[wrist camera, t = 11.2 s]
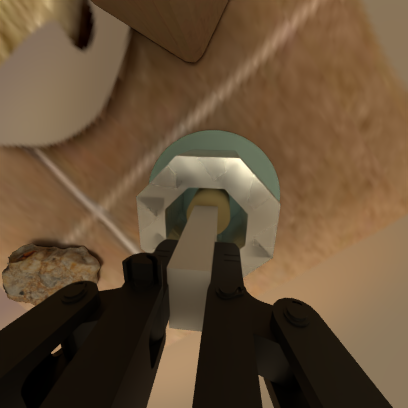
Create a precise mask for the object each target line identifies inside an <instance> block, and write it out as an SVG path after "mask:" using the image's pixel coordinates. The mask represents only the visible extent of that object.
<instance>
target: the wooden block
mask: <svg viewBox="0 0 408 408" xmlns="http://www.w3.org/2000/svg"><path fill="white" fill-rule="evenodd" d="M91 1H92V2H93V3H94V4H95V5H97V6H98V7H100V8H101V9H103V10H105V11H106V12H108V13H109V14H111V15H113V16H114V17H116V18H117V19H119V20H121V21H122V22H124V23H125V24H127V25H128V26H130V27H132V28H133V29H135V30H136V31H138V32H140V33H141V34H143V35H144V36H146V37H148V38H149V39H151V40H152V41H154V42H156V43H157V44H159V45H160V46H162V47H164V48H165V49H167V50H168V51H170V52H172V53H173V54H175V55H176V56H178V57H179V58H181V59H183V60H184V61H186V62H196V61H197V60H198V59H199V58H200V57H201V56H202V55H203V54H204V51H205V49H206V47H207V45H208V43H209V41H210V39H211V36H212V34H213V32H214V30H215V28H216V26H217V24H218V21H219V19H220V17H221V15H222V13H223V11H224V9H225V6H226V4H227V2H228V0H91Z"/></svg>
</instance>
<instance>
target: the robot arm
mask: <svg viewBox="0 0 408 408" xmlns="http://www.w3.org/2000/svg"><path fill="white" fill-rule="evenodd" d="M217 219H218V206H199V205H195V206H194V208H193V210H192V213H191V215H190V217H189V219H188V221H187V224H186V226H185V228H184V230H183V233H182V235H181V237H180V239H179V240H172V239H165V240H164V241H162V242H161V243H159V244H158V246H157V247H156V249H155V251H154V252H153V253H138V254H134V255H132V256H130V257H127V258H126V259H125V260H124V261H123V262H122V264H123V272H124V280H125V283H124V284H123V286H122V287H121V288H116V289H111V290H104V291H98V287H97V284H96V283H94V282H92V281H86V280H84V281H77V282H74V283H71V284H68V285H66V286H65V287H63V288H61V289H59V290H58V291H56V292H55V293H54V294H52V295H51V296H49V297H48V298H46V299H45V300H44V301H42V302H41V303H39V304H38V305H36V306H35V307H33V308H32V309H31V310H29V311H28V312H26V313H25V314H23V315H22V316H21V317H19V318H18V319H16V320H15V321H13V322H12V323H10V324H9V325H8V326H6V327H5V328H3V329H2V330H0V408H146V407H147V404H148V400H149V397H150V393H151V390H152V387H153V383H154V380H155V376H156V373H157V369H158V366H159V362H160V359H161V355H162V352H163V349H164V345H165V341H166V326H167V323H168V320H169V328H174V329H183V330H192V331H201V332H202V335H201V343H200V350H199V358H198V366H197V374H196V382H195V390H194V397H193V405H192V408H262V400H261V392H260V385H259V377H258V375H260V376H262V377H264V381H265V384H266V387H267V390H268V392H269V395H270V398H271V401H272V403H273V406H274V408H393V407H392V406H391V405H390V404H389V402H388V401H387V400H386V399H385V397H384V396H383V395H382V393H381V392H380V391H379V390H378V388H377V387H376V386H375V385H374V383H373V382H372V381H371V380H370V378H369V377H368V376H367V375H366V373H365V372H364V371H363V370H362V368H361V367H360V366H359V364H358V363H357V362H356V361H355V359H354V358H353V357H352V356H351V354H350V353H349V352H348V351H347V349H346V348H345V347H344V346H343V344H342V343H341V342H340V341H339V339H338V338H337V337H336V336H335V334H334V333H333V332H332V331H331V329H330V328H329V327H328V326H327V324H326V323H325V322H324V320H323V319H322V318H321V317H320V315H319V314H318V313H317V312H316V311H315V310H314V309H313V308H312V307H311V306H309V305H307V304H306V303H304V302H302V301H300V300H297V299H294V298H283V299H279V300H277V301H276V302H275V303H274V304H273V305H270V304H267V303H264V302H262V301H259V300H257V299H256V298H254V297H252V296H251V295H250V294H249V293H248V292H247V290H246V288H245V287H244V283H243V274H242V265H241V257H240V249H239V248H238V246H237V245H236V244H235V243H226V242H217ZM59 344H61V347H62V348H61V349H60V350H58V351H57V352H55V353H54V354H51V352H52V351H53V350H54V349H55V348H56V347H57V346H58V345H59Z"/></svg>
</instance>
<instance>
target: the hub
mask: <svg viewBox="0 0 408 408" xmlns="http://www.w3.org/2000/svg"><path fill="white" fill-rule="evenodd" d="M191 149H199V150H234V151H236V152H237V153H238V154H239V155H240V156H241V158H242V159H243V160H244V161H245V162H246V163H247V164H248V165H249V167H250V168H251V169H252V170H253V171H254V172H255V173H256V175H257V176H258V177H259V178H260V179H261V180H262V181H263V182H264V183H265V185H266V186H267V187H268V188H269V190H270V191H271V192H272V194H273V195H274V196H275V197H276V199H277V200H278V201H280V187H279V181H278V178H277V174H276V171H275V169H274V167H273V165H272V163H271V162H270V160H269V159H268V157H267V156H266V155H265V154H264V153H263V151H262V150H261V149H260V148H259V147H257V146H256V145H255V144H254V143H252V142H251V141H249V140H247V139H246V138H244V137H242V136H239V135H237V134H234V133H231V132H227V131H220V130H206V131H199V132H195V133H192V134H189V135H187V136H184V137H182V138H180V139H179V140H177V141H176V142H174V143H173V144H171V145H170V146H169V147H168V148H167V149H166V150H165V151H164V152H163V153H162V154H161V156H160V157H159V159H158V160H157V162H156V163H155V165H154V168H153V170H152V173H151V176H150V180H149V183H150V182H151V181H152V180H153V179H154V178H155V177H156V176H157V175H158V174H159V173H160V172H161V171H162V170H163V169H164V168H165V167H166V166H167V165H168V164H169V162H170V161H171V160H172V159H173V158H174V157H175V156H177V155H179V154H182V153H184V152H186V151H189V150H191ZM195 205H199V206H218V219H217V234H220V233H221V232H223V231H224V230H225V229H226V228H227V226H228V224H229V222H230V220H231V219H232V218H233V217H234V216H236V215H237V214H238V213H239V212H240V205H239V204H238V203H237V202H236V201H235V200H234V198H233V197H232V196H231V195H230V194H229V193H228V192H227V191H226V190H225V189H216V188H195V187H188V188H187V189H186V190H185V191H184V210H185V211H186V212H187V221H188V219H189V217H190V215H191V213H192V210H193V208H194V206H195Z"/></svg>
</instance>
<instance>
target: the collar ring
mask: <svg viewBox="0 0 408 408" xmlns="http://www.w3.org/2000/svg"><path fill="white" fill-rule="evenodd" d="M188 187H195V188H216V189H225V190H226V191H227V192H228V193H229V194H230V195H231V196H232V197H233V198H234V200H235V201H236V202H237V203H238V204H239V205H240V212H239V213H238V214H237V215H236V216H234V217H233V218H232V219H231V220H230V222H229V224H228V226H227V228H226V229H225V230H224V231H223V232H221V233H220V234H217V242H226V243H235V244H236V245H237V246H238V248H239V249H240V257H241V265H242V274H243V278H244V277H245V276H246V275H248V274H249V273H251V272H252V271H254V270H255V269H257V268H258V267H260V266H261V265H263V264H264V263H266V262H267V261H269V260H270V259H272V258H273V252H274V245H275V238H276V232H277V225H278V218H279V212H280V205H281V204H280V202H279V201H278V200H277V199H276V197H275V196H274V195H273V194H272V192H271V191H270V190H269V188H268V187H267V186H266V185H265V183H264V182H263V181H262V180H261V179H260V178H259V177H258V176H257V175H256V173H255V172H254V171H253V170H252V169H251V168H250V167H249V165H248V164H247V163H246V162H245V161H244V160H243V159H242V158H241V156H240V155H239V154H238V153H237V152H236V151H234V150H199V149H191V150H189V151H186V152H184V153H182V154H179V155H177V156H175V157H174V158H173V159H172V160H171V161H170V162H169V164H168V165H167V166H166V167H165V168H164V169H163V170H162V171H161V172H160V173H159V174H158V175H157V176H156V177H155V178H154V179H153V180H152V181H151V182H150V183H149V184H148V185H147V186H146V187H145V188H144V189H143V190H142V191H141V192H140V193H139V195H138V196H136V200H137V211H138V222H139V233H140V244H141V248H142V249H143V250H144V251H145V252H146V253H153V252H154V251H155V249H156V247H157V246H158V244H159V243H161V242H162V241H164V240H165V239H172V240H179V239H180V237H181V235H182V233H183V230H184V228H185V226H186V224H187V212H186V211H185V210H184V191H185V190H186V189H187V188H188Z"/></svg>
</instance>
